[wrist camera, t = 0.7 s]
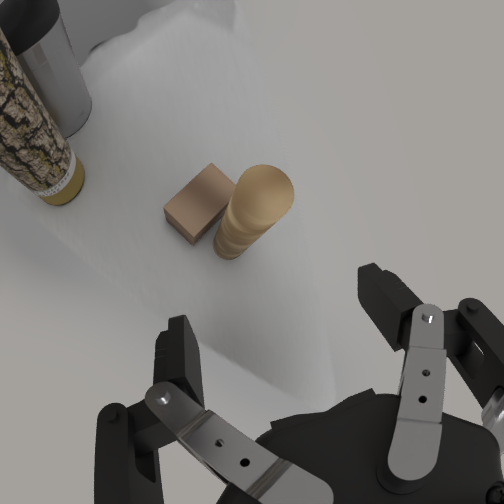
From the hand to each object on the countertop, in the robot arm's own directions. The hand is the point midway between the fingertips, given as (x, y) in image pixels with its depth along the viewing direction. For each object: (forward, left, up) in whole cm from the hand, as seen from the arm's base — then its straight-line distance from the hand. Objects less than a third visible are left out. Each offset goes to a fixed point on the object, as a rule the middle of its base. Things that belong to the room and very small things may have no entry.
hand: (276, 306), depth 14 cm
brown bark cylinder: (-25, -4, -22) cm, 34 cm away
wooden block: (-9, +6, -22) cm, 25 cm away
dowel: (-4, +5, -22) cm, 23 cm away
